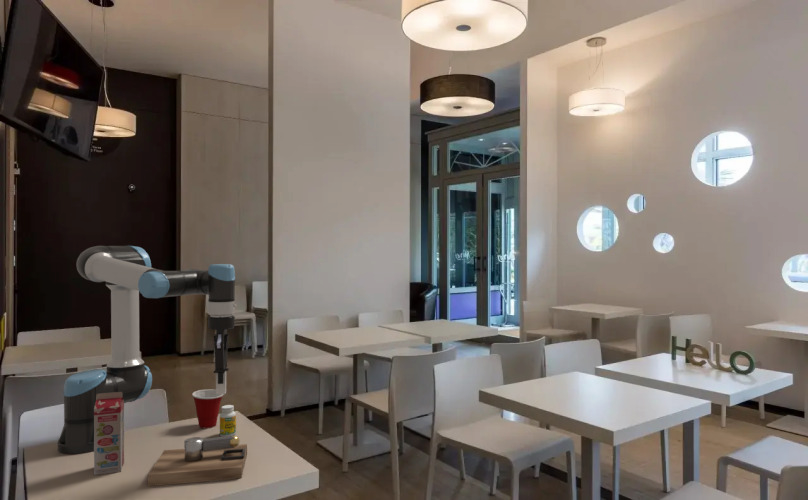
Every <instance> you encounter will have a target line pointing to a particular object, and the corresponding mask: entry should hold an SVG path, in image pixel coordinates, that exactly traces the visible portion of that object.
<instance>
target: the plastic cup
mask: <svg viewBox="0 0 808 500" xmlns="http://www.w3.org/2000/svg"><path fill="white" fill-rule="evenodd" d="M224 395H225V394H217V395H216V389H198V390H196V391H193V392H192V397H193V401H194V406H195V411H196V417H197V422H198V426H199V428H201V429H208V428H209V429H210V428H213V427H216V426H217V423H218V417H219V412H220V409H221V408H220V407H221V402H222V398H223V396H224Z"/></svg>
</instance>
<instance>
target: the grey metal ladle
mask: <svg viewBox="0 0 808 500" xmlns="http://www.w3.org/2000/svg"><path fill="white" fill-rule="evenodd" d="M240 441H241V440H240V438H239V437H238V436H237V435H233V436H225V437H223V436H218V437H211V438H210V437H209V438H204V437H201V436H200V437H198V436H193V437H189V438H186V439H185V440H184V446H183V447H184V448H183V449H184V453H185V460H187V461H195V460H199V459H201V458H203V452H206V451H214V450H221V449H229V448H234V447H236V446H238V445H240Z"/></svg>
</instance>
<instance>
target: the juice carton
mask: <svg viewBox="0 0 808 500" xmlns="http://www.w3.org/2000/svg"><path fill="white" fill-rule="evenodd" d="M124 465H125V403H124V399H123V397H122V392H112V393H100V394H96V403H95V408H94V451H93V475H94V476H99V475H106V474H111V473H112V474H113V473H120V472H122V470H123V466H124Z"/></svg>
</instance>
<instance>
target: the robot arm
mask: <svg viewBox="0 0 808 500" xmlns="http://www.w3.org/2000/svg"><path fill="white" fill-rule="evenodd" d="M151 262H152V261H151V259H150V255H149V253H148V252H146V250H145V249H144V248H142V247H140V246H134V245H96V246H92V247H88V248H86V249H85V250H83V251H82V252H80V254H79V255H78V258H77V259H76V270H77V272H78V274H79V275H80V276H81V277H82V278H84V279H85V280H87V281H91V282H95V283H103V282H105V286H106V287H107V288H108V289H109V290H110V315H111V316H110V317H111V318H110V320H111V321H110V322H111V323H110V326H111V327H110V330H111V339H110V341H111V344H110V345H111V351H110V352H111V359H110V361H109V362H108V363H107V364H106V370H105V369H101V368H99V369H98V368H97V369H96V368H94V369H90V370H84V371H80V372H77V373H73V374H72V375H70V376H69V377H67V378H66V380H65V381H64V386H63V392H62V393H63V417H64V418H63V419H64V421H63V426H62V430H61V433H60V435H59V438H58V441H57V451H58V452H59V453H61V454H67V455H68V454H70V455H71V454H72V455H73V454H83V453H89V452H94V408H95V403H96V394H100V393H112V392H122V397H123V399H124V404H126V403H132V402H133V403H134V402H136V401H137V400H141V399H143V398H144V397H146V396H147V395H148V394H149V392H150V390H151V388H152V384H153V374H152V372H151V369H150V368H149V366H147V365H145V361H144V360H143V359H142V358H141V357H140V294H141V295H142V297H144V298H146V299H160V298H169V297H170V298H171V297H178V296H180V297H181V296H193V295H205V296H206V295H207V296H208V298H207V302H208V303H207V309H208V310H207V315H209V316H208V318H207V319H208V320H207V328H208V329H209V330H211V331H213V330H215V331H216V332H215V334H214V336H213V345H214V370H213V374H215V390H216V395H217V394H224V395H226V394H227V372H229V371H230V368H229V367H228V347H229V339H230V333H228V330H231V329H234V328H235V324H236V322H235V319H236V317H235V315H234V314H235V310H236V309H235V308H237V306H238V305H237V304H236V303H235V301H236V300H235V297H236V296H235V295H236V294H235V293H236V273H235V271H236V269H235V266H234V265H233V264H231V263H225V264H224V263H218V264H217V263H215V264H214V263H213V264H209V266H208V270H205V269H193V268H191V269H185V270H163V269H157V268H155V267H154V268H153V267H152V263H151Z"/></svg>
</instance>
